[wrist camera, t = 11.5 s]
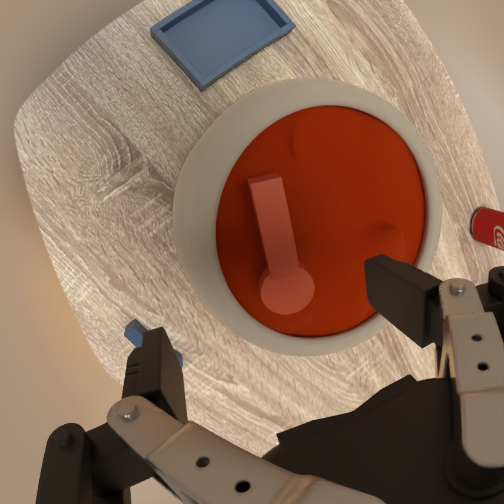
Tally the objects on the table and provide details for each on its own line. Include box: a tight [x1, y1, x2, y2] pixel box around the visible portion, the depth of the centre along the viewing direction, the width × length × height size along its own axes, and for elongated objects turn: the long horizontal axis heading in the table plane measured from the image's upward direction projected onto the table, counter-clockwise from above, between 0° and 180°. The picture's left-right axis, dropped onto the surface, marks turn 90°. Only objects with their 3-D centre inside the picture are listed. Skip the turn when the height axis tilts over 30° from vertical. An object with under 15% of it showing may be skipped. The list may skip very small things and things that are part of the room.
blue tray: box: [150, 0, 296, 91], centre depth 30 cm, size 10×14×2 cm
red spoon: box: [248, 173, 315, 315], centre depth 20 cm, size 9×4×2 cm, turn 14°
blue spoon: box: [124, 319, 183, 369], centre depth 40 cm, size 9×4×2 cm, turn 36°
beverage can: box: [471, 207, 504, 251], centre depth 43 cm, size 6×6×12 cm
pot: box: [172, 78, 442, 356], centre depth 30 cm, size 24×24×18 cm
